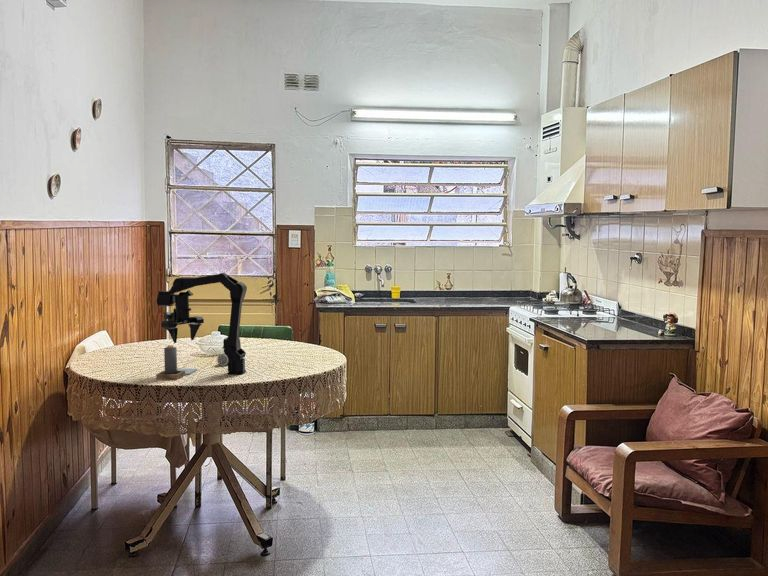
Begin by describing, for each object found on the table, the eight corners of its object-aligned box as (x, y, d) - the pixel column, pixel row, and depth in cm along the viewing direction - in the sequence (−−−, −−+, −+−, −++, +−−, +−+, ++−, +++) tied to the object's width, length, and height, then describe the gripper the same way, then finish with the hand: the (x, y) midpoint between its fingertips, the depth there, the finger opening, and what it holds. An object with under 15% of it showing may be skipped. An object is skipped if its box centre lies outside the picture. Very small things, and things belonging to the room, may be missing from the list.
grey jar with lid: (178, 376, 302) (178, 344, 301) (174, 378, 297) (173, 346, 296) (167, 375, 303) (167, 344, 302) (162, 378, 298) (162, 346, 297)
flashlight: (234, 359, 341) (233, 348, 340) (244, 360, 339) (243, 349, 339) (217, 365, 326) (217, 353, 326) (227, 366, 325) (227, 354, 324)
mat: (197, 370, 314) (197, 368, 314) (189, 375, 305) (189, 373, 305) (175, 369, 315) (175, 368, 315) (166, 374, 306) (166, 373, 306)
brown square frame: (185, 375, 304) (185, 370, 304) (177, 379, 295) (177, 375, 295) (165, 374, 305) (164, 370, 305) (156, 379, 296) (156, 374, 296)
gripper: (187, 303, 321) (189, 337, 322) (152, 307, 306) (154, 343, 307) (203, 304, 314) (205, 339, 316) (168, 308, 299) (170, 345, 301)
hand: (183, 341), depth 310 cm, fingers open, 9 cm apart
